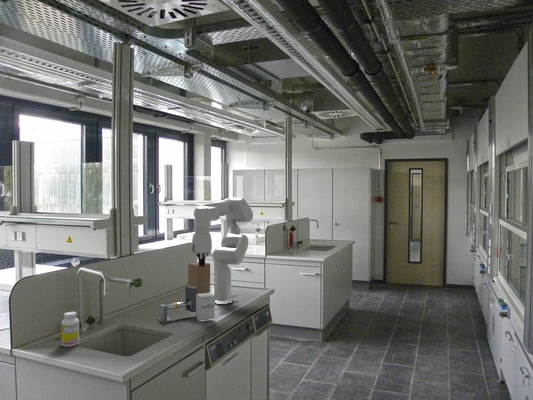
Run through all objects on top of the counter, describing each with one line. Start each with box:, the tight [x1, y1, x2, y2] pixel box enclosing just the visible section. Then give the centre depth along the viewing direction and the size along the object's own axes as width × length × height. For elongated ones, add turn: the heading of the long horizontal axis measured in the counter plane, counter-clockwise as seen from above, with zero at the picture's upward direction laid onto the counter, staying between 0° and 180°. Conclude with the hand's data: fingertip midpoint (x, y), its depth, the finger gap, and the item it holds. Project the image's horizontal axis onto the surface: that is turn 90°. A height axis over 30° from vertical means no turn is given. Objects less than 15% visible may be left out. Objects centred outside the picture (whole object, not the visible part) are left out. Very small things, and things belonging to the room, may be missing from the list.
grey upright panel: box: [184, 285, 197, 312], centre depth 224 cm, size 2×7×12 cm, turn 41°
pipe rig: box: [156, 300, 192, 323], centre depth 220 cm, size 22×8×8 cm, turn 131°
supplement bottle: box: [60, 311, 80, 348], centre depth 179 cm, size 7×7×13 cm
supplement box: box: [195, 292, 216, 320], centre depth 216 cm, size 7×7×13 cm
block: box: [187, 261, 211, 294], centre depth 267 cm, size 10×10×20 cm
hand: (201, 266), depth 228 cm, fingers closed
